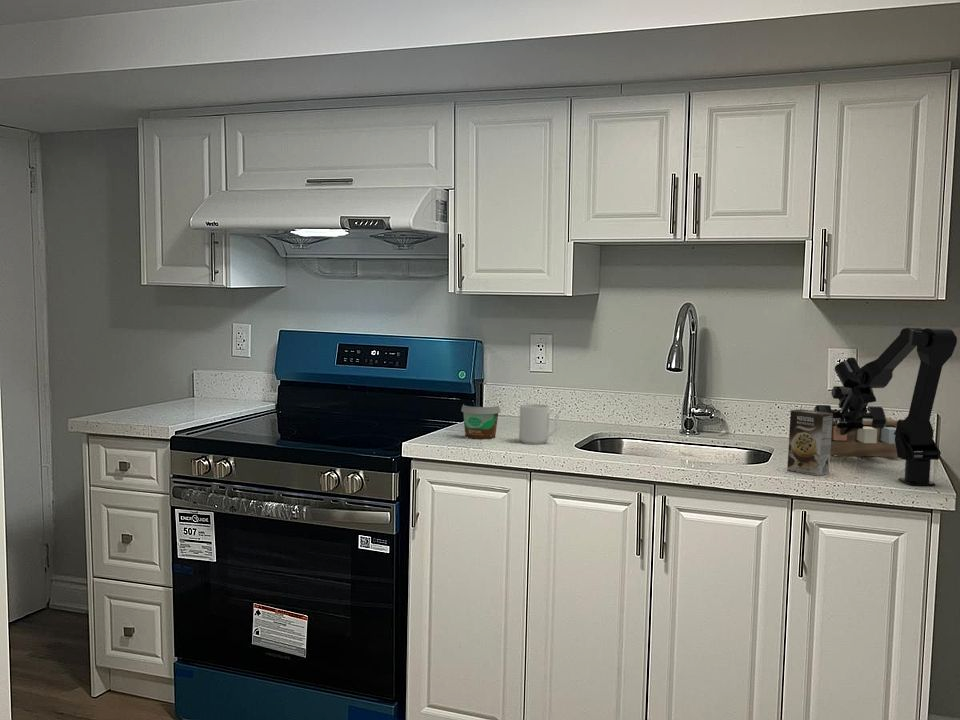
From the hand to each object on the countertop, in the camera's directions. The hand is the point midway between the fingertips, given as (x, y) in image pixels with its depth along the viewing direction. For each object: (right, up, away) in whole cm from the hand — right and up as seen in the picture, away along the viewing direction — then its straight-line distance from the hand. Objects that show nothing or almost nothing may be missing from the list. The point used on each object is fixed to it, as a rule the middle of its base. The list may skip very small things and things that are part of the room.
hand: (841, 433), depth 271 cm
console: (+7, -6, +8) cm, 12 cm away
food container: (-105, -3, +19) cm, 106 cm away
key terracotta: (0, -2, +3) cm, 4 cm away
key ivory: (+7, -2, 0) cm, 7 cm away
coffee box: (-18, -9, -23) cm, 30 cm away
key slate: (+14, -2, 0) cm, 14 cm away
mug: (-87, -4, +13) cm, 88 cm away
